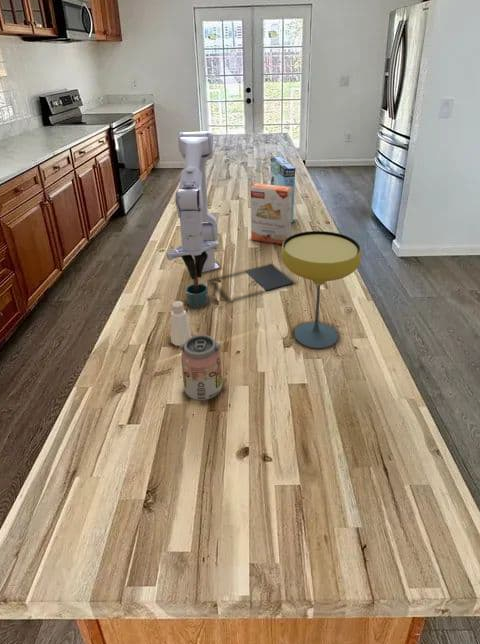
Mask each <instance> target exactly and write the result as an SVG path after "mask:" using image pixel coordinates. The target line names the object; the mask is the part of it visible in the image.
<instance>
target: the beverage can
mask: <svg viewBox="0 0 480 644" xmlns="http://www.w3.org/2000/svg"><path fill="white" fill-rule="evenodd" d="M191 336H192V335H191ZM221 346H222V344H221V343H220V342H216V340H215V339H214V338H213V337H212V336H210V335H207V334H196V335H193V336H192V337H191V338H189V339H187V340H186V341H185V343H184V344H181V345H179V349H180V351H182V352H181V353H180V361H181V370H182V379H183V390H184V392H185V394H186V395H187V396H188V397H189V398H190V399H192V400H195V401H200V402H204V401H205V402H206V401H209V400H212V399H213V398H215V397H217V396H218V394H219V393H220V392H221V390H222V387H223V379H222V377H223V376H222V362H221V361H222V360H221V350H220V349H221Z"/></svg>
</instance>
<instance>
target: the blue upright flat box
mask: <svg viewBox="0 0 480 644" xmlns="http://www.w3.org/2000/svg"><path fill="white" fill-rule="evenodd" d="M269 176H270V179H269V180H270V181H269V182H270V183H269V185H277V186H287V187H292V206H291V223H294V211H295V209H294V207H295V206H294V205H295V187H296V186H295V185H296V167H295V166H294V165H292V164H290V163H289V162H288V161H287V160H286V159H284V158H283V157H282V156H272V157H270V175H269Z"/></svg>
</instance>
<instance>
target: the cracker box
mask: <svg viewBox="0 0 480 644" xmlns="http://www.w3.org/2000/svg"><path fill="white" fill-rule="evenodd" d="M291 206H292V187H287V186H277V185H270V184H269V183H268V184H267V183H257V182H256V183H254V184H253V185H251V187H250V237H251V238H250V239H251V240H252V241H258V242H263V243H272V244H278V245H283V243H284V241H285V240H286V239H287V238H288V237H290V236H292V235H291V234H292V222H291Z"/></svg>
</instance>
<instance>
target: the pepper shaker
mask: <svg viewBox="0 0 480 644" xmlns="http://www.w3.org/2000/svg"><path fill="white" fill-rule="evenodd" d="M171 307H172V308H171V309H172V311H171V313H170V343H171V344H173V345H174V346H176V347H177V346H180V345H181V344H184V343H185V341H186V340H187V339H189V338H191V337H192V332H191V328H190V322H189V319H188V314H187V311H186V310H185V309H184V302H183V301H181V300H176V301H173V302H172V303H171Z"/></svg>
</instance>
